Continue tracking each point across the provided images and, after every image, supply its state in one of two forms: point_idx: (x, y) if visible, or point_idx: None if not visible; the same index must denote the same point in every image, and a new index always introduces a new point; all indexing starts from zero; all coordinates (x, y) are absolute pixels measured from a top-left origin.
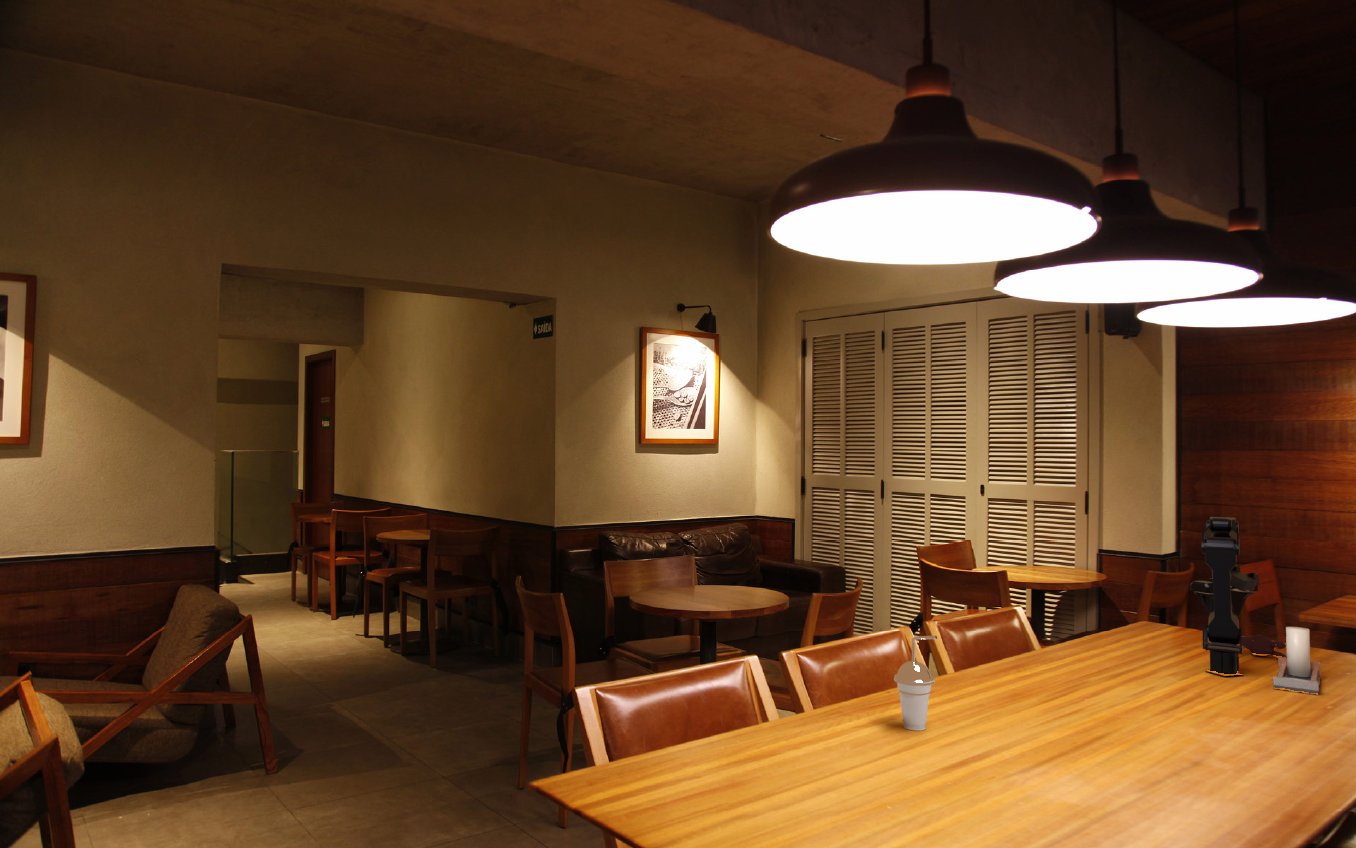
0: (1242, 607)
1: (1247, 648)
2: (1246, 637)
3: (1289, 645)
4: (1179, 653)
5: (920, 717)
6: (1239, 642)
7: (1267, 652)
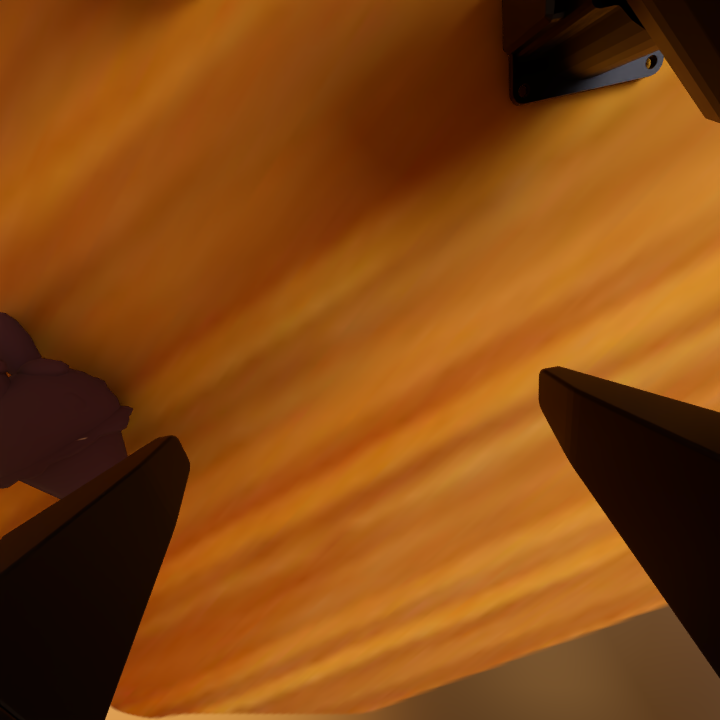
0: (54, 505)
1: (123, 442)
2: None
3: None
4: (420, 463)
5: None
6: None
7: (62, 362)
